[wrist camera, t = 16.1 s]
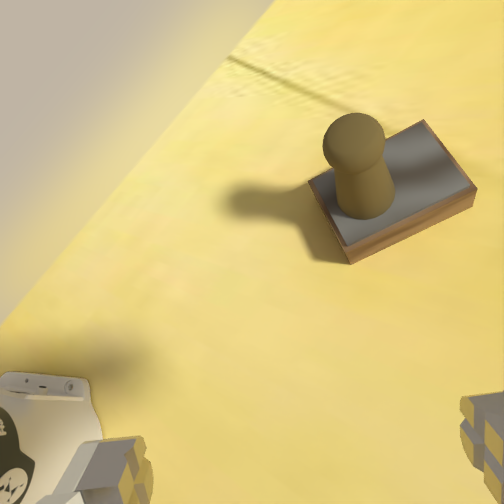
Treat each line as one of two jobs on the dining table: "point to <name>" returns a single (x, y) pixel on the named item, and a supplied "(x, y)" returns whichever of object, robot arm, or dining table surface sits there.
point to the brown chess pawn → (359, 166)
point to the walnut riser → (401, 194)
